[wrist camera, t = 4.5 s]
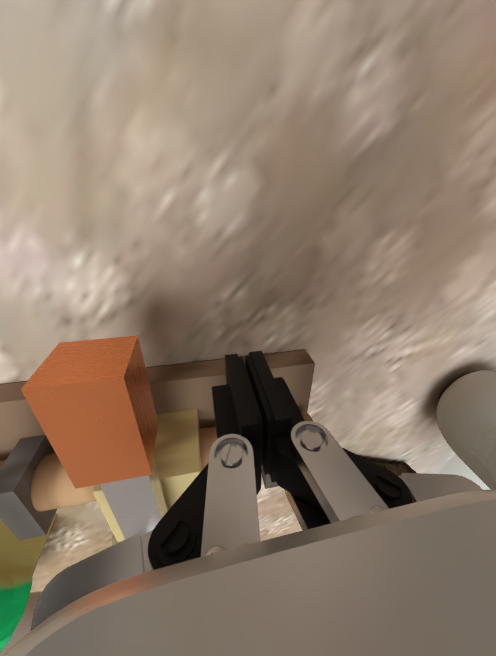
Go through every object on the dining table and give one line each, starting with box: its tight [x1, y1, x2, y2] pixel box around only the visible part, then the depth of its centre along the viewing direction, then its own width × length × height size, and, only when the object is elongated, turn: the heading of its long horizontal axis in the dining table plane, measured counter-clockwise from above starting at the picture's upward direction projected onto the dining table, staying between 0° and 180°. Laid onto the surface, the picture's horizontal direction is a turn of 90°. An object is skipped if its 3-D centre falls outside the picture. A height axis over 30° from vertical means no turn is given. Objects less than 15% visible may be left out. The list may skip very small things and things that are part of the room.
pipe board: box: [0, 350, 315, 542], centre depth 20 cm, size 25×12×7 cm, turn 90°
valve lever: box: [21, 336, 169, 540], centre depth 12 cm, size 14×3×3 cm, turn 0°
